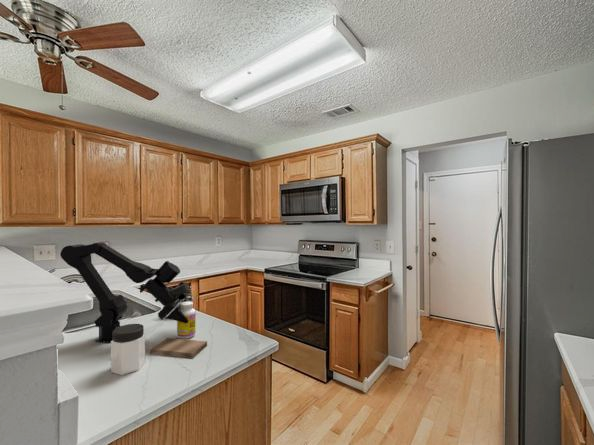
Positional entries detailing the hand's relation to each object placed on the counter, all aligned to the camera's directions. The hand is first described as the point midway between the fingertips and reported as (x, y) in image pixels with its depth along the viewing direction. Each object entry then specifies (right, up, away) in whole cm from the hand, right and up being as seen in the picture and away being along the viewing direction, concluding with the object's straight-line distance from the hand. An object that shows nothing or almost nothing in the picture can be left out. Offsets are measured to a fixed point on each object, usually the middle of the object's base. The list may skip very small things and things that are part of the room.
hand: (190, 319), depth 107 cm
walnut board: (+1, -7, -11) cm, 13 cm away
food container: (-13, -6, +22) cm, 26 cm away
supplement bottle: (-1, -7, 0) cm, 7 cm away
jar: (-10, -7, -23) cm, 26 cm away
